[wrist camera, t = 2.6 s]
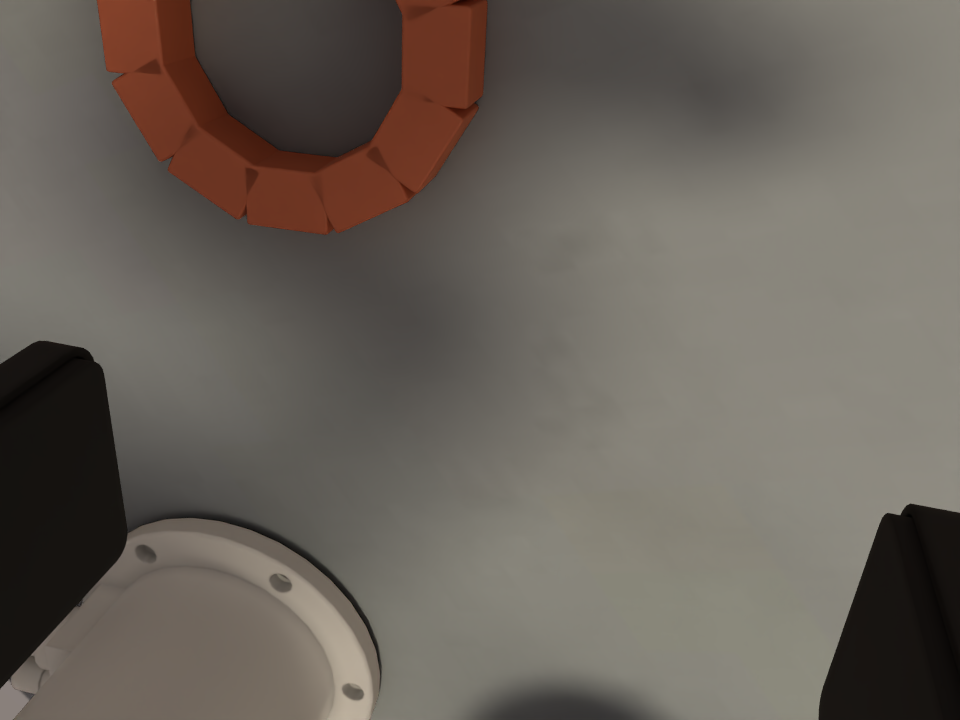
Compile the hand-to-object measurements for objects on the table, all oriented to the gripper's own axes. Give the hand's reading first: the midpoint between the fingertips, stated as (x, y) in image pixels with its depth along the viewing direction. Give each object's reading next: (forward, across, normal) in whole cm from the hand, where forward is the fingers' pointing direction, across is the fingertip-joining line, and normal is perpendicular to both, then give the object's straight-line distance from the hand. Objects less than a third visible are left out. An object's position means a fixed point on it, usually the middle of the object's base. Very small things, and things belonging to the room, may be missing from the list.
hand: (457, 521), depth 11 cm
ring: (+16, +9, -2) cm, 19 cm away
